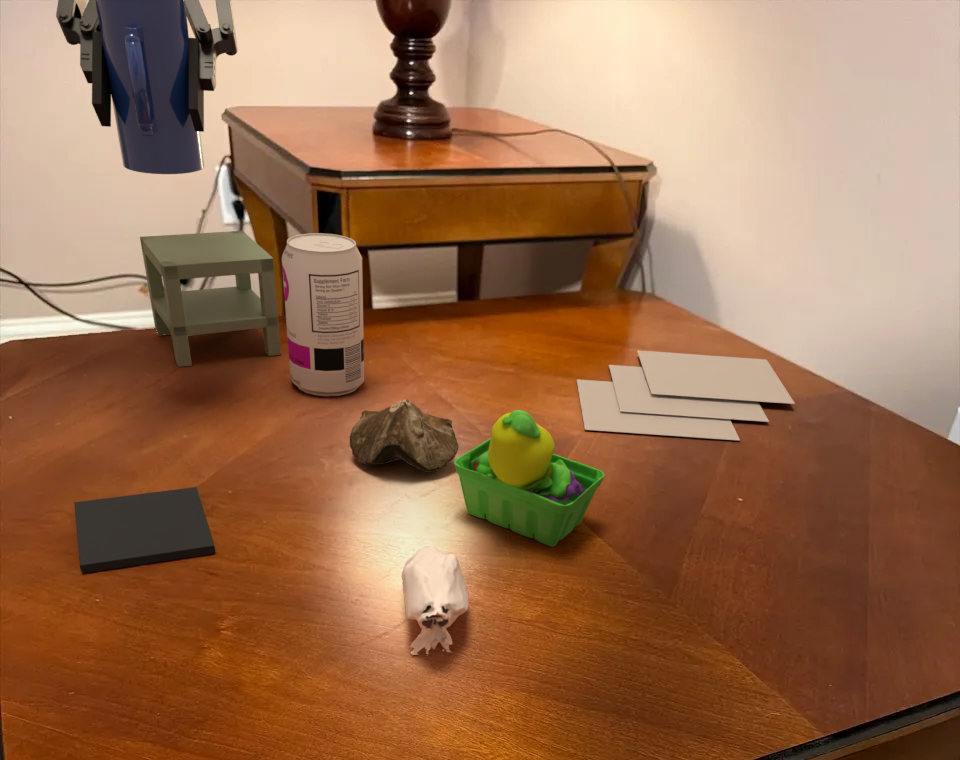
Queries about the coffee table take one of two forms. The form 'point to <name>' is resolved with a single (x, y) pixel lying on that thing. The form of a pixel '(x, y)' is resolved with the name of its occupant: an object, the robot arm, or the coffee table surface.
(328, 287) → the supplement can
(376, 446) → the fossilized seashell
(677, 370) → the paper stack
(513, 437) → the fruit basket
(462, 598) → the white crumpled pouch
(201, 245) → the side table
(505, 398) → the coffee table surface
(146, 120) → the jug
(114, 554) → the mat
